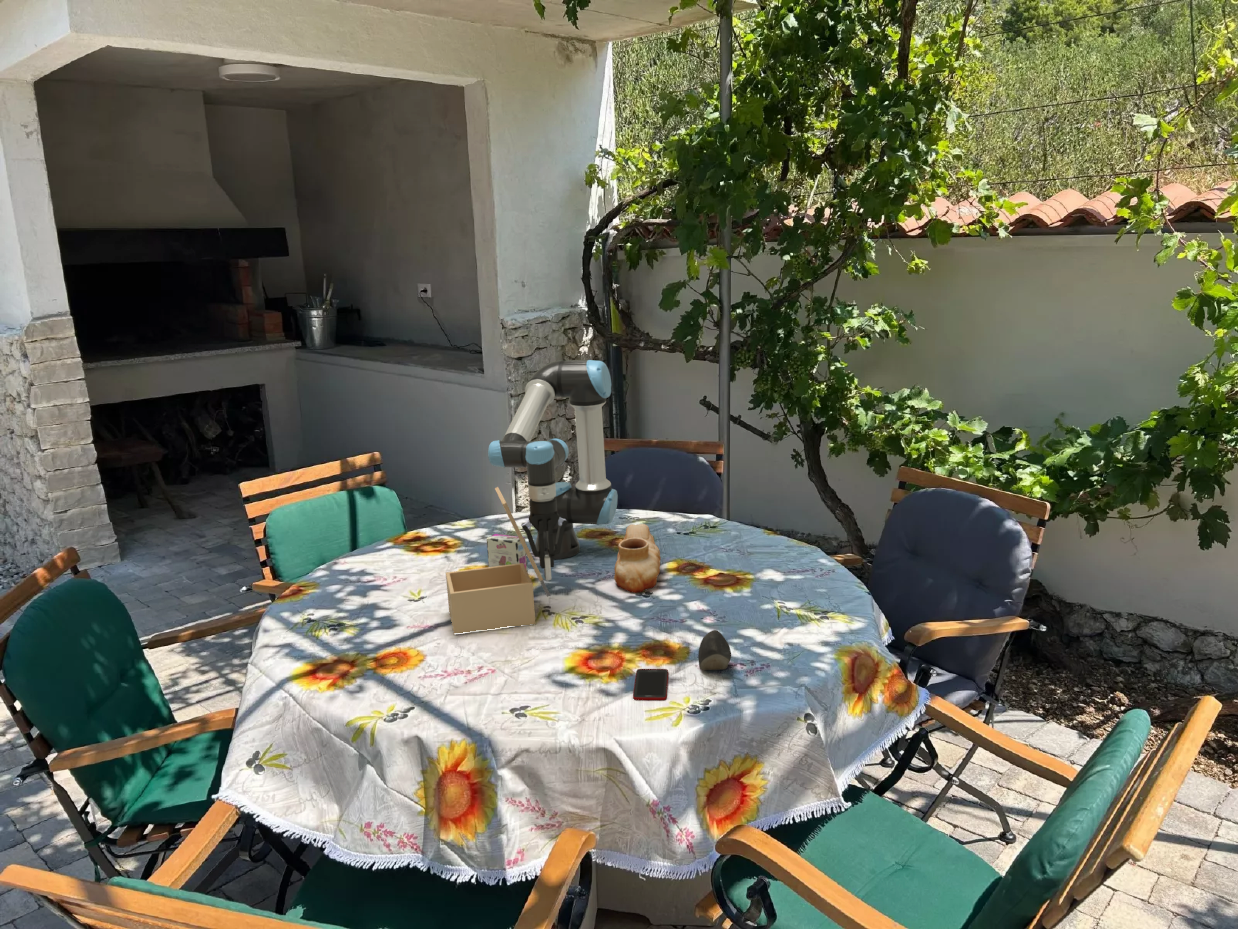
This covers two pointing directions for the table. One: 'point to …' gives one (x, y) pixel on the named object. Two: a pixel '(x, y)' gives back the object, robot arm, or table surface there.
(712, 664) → the stone
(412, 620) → the table surface
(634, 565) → the ceramic vessel
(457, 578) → the carton
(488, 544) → the candy bar box
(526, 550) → the lid
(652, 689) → the cell phone
